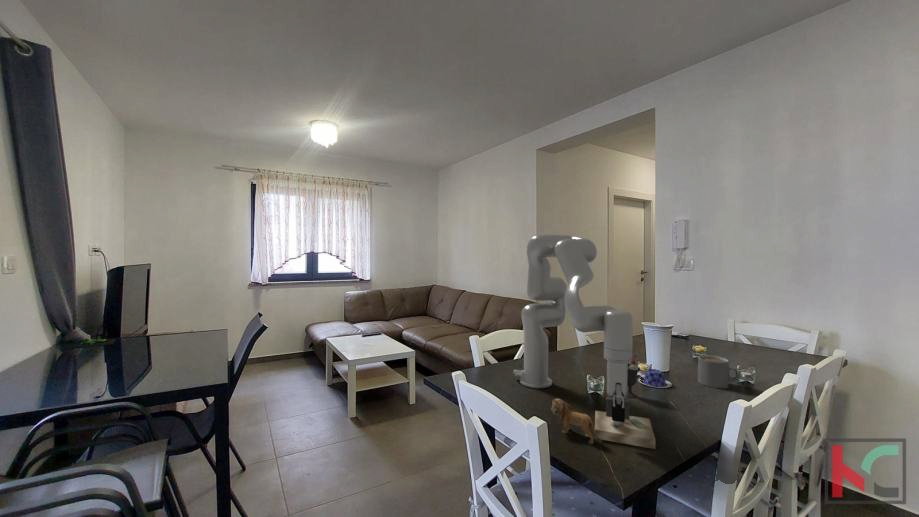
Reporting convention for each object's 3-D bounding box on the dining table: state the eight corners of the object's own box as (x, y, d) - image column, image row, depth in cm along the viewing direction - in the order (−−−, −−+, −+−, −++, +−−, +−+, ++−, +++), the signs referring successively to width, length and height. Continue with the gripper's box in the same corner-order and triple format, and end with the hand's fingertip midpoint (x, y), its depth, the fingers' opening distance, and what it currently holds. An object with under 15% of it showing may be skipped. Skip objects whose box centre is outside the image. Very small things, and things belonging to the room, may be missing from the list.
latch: (629, 427, 101) (629, 402, 101) (606, 424, 103) (606, 399, 103) (627, 415, 109) (627, 391, 109) (605, 412, 111) (605, 388, 111)
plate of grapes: (640, 387, 140) (640, 374, 140) (635, 377, 151) (635, 365, 151) (675, 391, 136) (675, 377, 136) (667, 380, 147) (667, 367, 147)
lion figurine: (548, 430, 105) (548, 400, 105) (555, 424, 109) (555, 394, 109) (599, 447, 96) (599, 414, 96) (605, 439, 100) (605, 407, 100)
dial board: (594, 438, 100) (594, 428, 100) (595, 418, 113) (595, 409, 113) (655, 449, 95) (655, 438, 95) (649, 427, 107) (649, 417, 107)
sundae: (642, 399, 127) (642, 357, 127) (622, 398, 129) (622, 356, 128) (637, 392, 134) (637, 352, 134) (618, 391, 135) (618, 351, 135)
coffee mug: (694, 383, 143) (694, 358, 143) (702, 377, 150) (702, 353, 150) (735, 393, 133) (735, 366, 133) (742, 386, 140) (742, 361, 139)
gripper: (603, 345, 112) (603, 400, 112) (603, 360, 96) (603, 425, 96) (630, 347, 109) (629, 404, 110) (635, 364, 93) (634, 430, 93)
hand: (617, 413), depth 103 cm, fingers open, 9 cm apart
